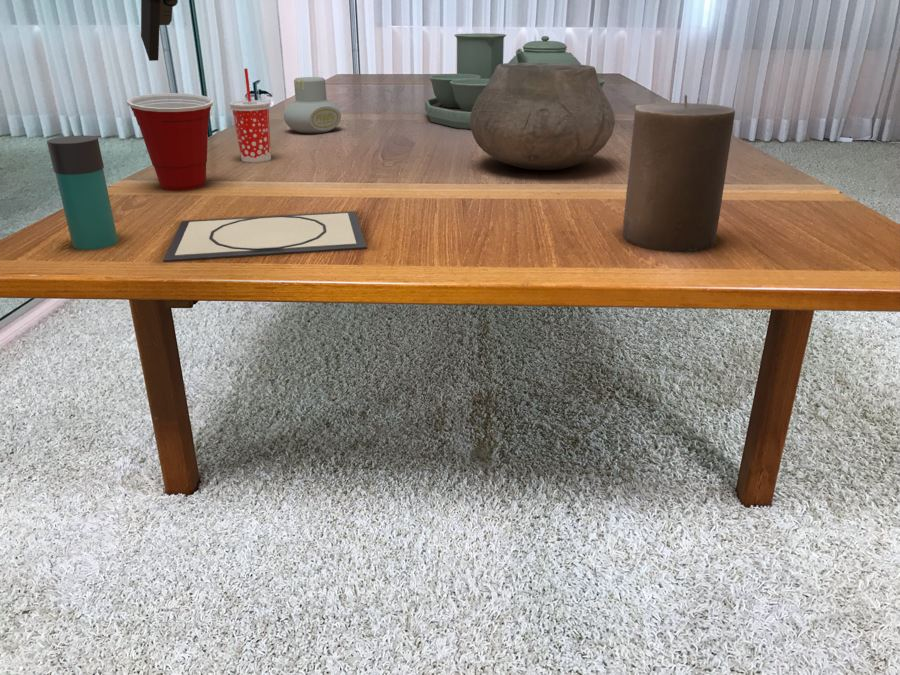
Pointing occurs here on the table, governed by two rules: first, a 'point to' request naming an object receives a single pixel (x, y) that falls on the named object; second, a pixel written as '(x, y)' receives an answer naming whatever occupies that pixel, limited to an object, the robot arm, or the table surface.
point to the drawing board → (265, 236)
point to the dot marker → (83, 191)
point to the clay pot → (542, 115)
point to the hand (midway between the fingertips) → (63, 51)
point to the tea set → (483, 73)
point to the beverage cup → (252, 127)
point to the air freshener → (311, 108)
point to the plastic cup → (175, 136)
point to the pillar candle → (677, 175)
